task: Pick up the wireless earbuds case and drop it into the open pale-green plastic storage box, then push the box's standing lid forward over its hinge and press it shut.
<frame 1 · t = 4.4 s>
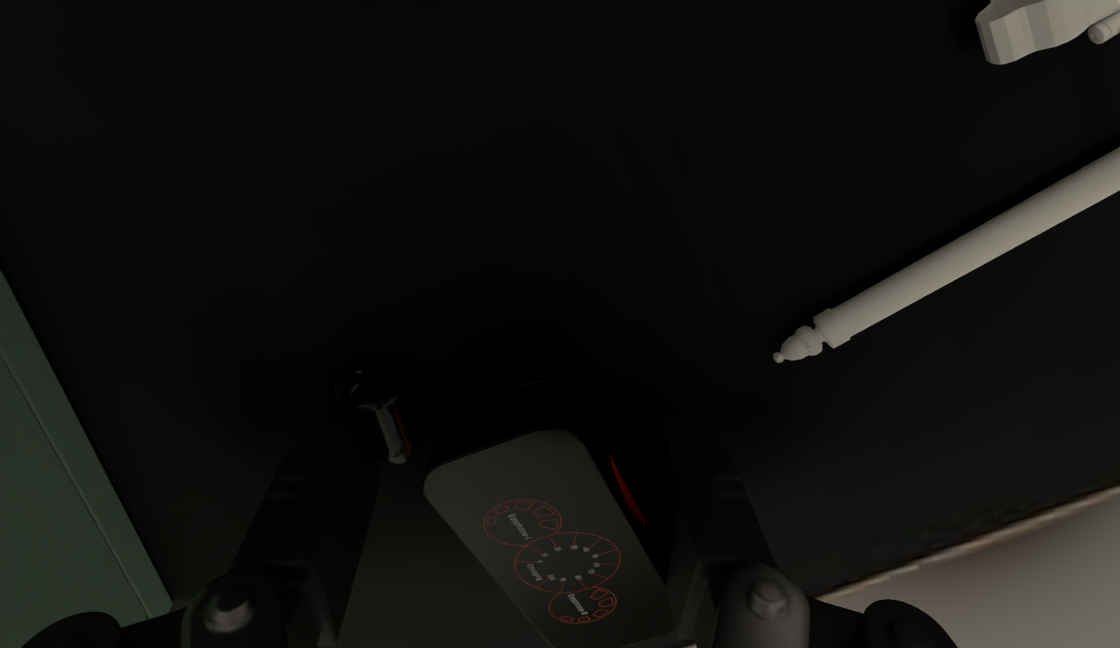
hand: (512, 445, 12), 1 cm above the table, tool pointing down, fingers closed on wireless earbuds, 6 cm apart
picture light: (1103, 53, 10), on the table
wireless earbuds: (514, 419, 13), on the table, touching gripper
when the fingers open (5 cm above the table, at t = 11.4 s): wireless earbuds drops 3 cm, resting on storage box.
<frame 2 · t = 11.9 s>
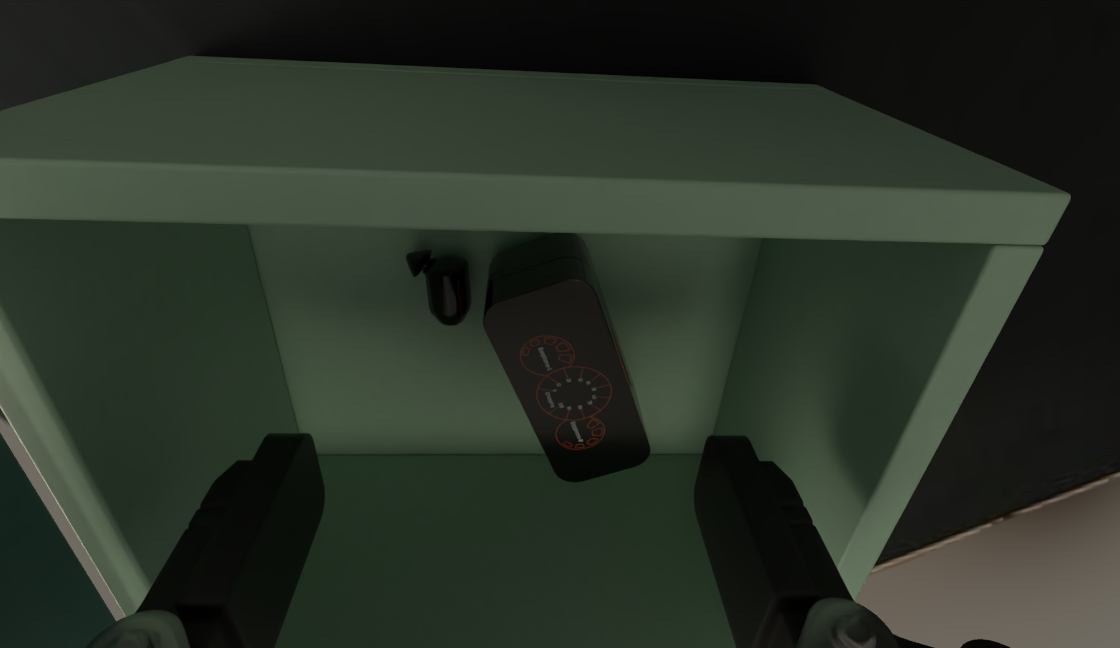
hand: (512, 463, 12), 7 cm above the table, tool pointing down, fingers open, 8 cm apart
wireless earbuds: (534, 309, 17), point 1 cm above the table, touching storage box
storage box: (512, 299, 18), on the table
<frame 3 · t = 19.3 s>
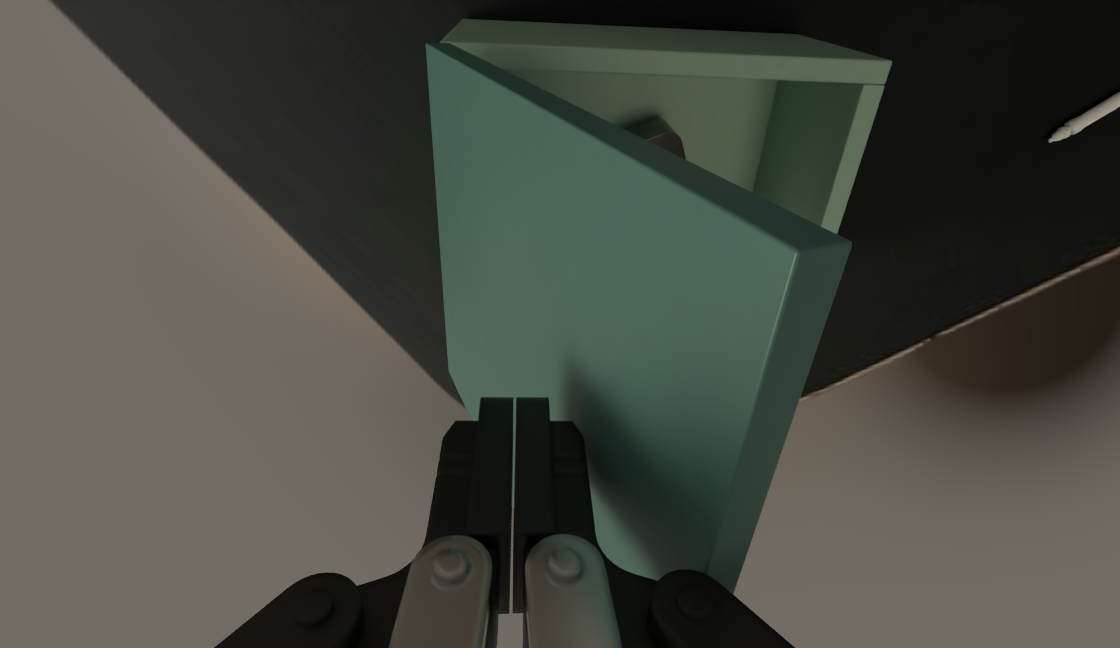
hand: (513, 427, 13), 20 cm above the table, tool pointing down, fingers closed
lid: (528, 345, 16), point 16 cm above the table, hinge at 68.7°
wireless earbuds: (633, 171, 30), point 1 cm above the table, touching storage box
storage box: (619, 167, 30), on the table
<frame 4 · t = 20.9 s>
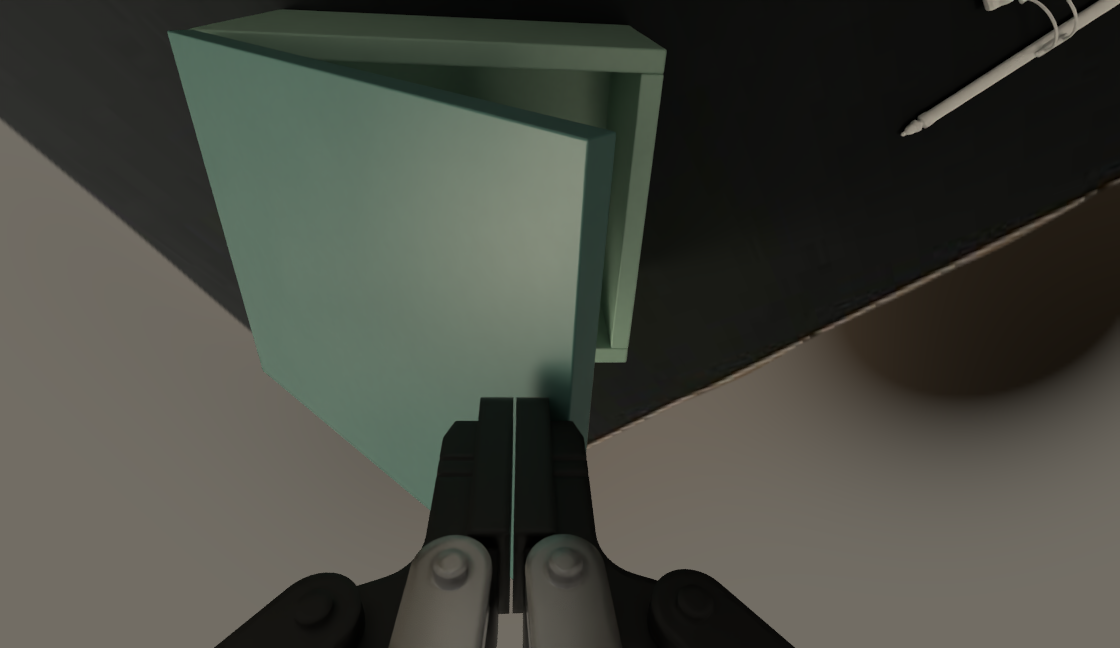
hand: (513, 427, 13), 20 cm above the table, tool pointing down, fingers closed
picture light: (1026, 8, 27), on the table
lid: (362, 303, 17), point 14 cm above the table, hinge at 43.0°
storage box: (464, 162, 30), on the table
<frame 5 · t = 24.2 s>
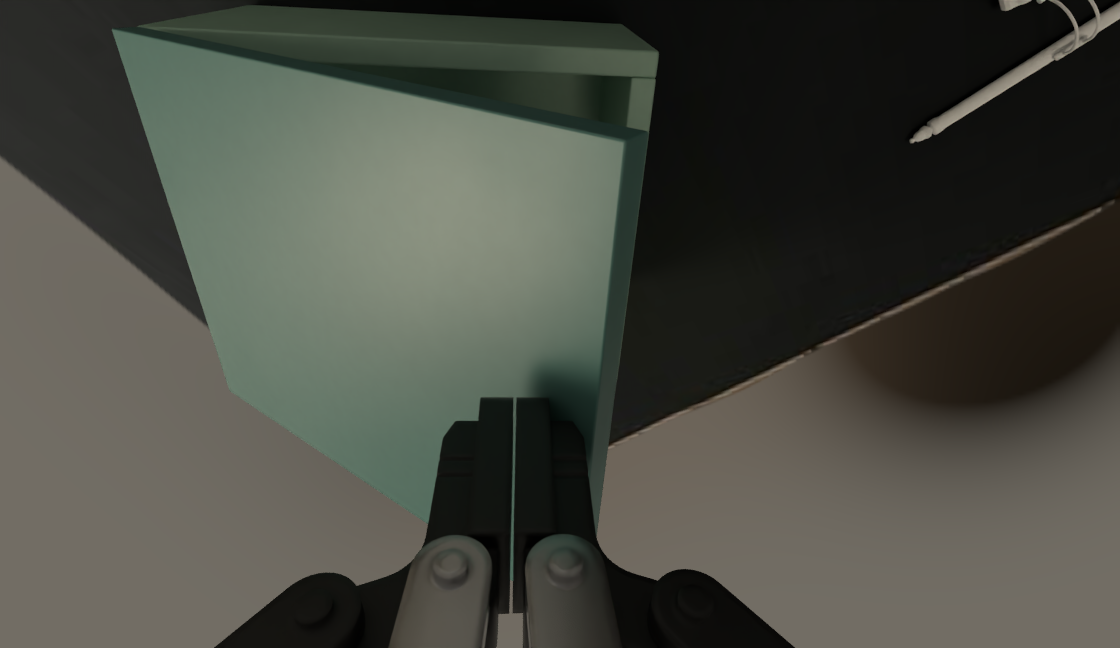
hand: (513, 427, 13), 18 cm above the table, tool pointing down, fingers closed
picture light: (1044, 8, 26), on the table
lid: (351, 316, 16), point 14 cm above the table, hinge at 36.6°, touching gripper
storage box: (448, 167, 28), on the table
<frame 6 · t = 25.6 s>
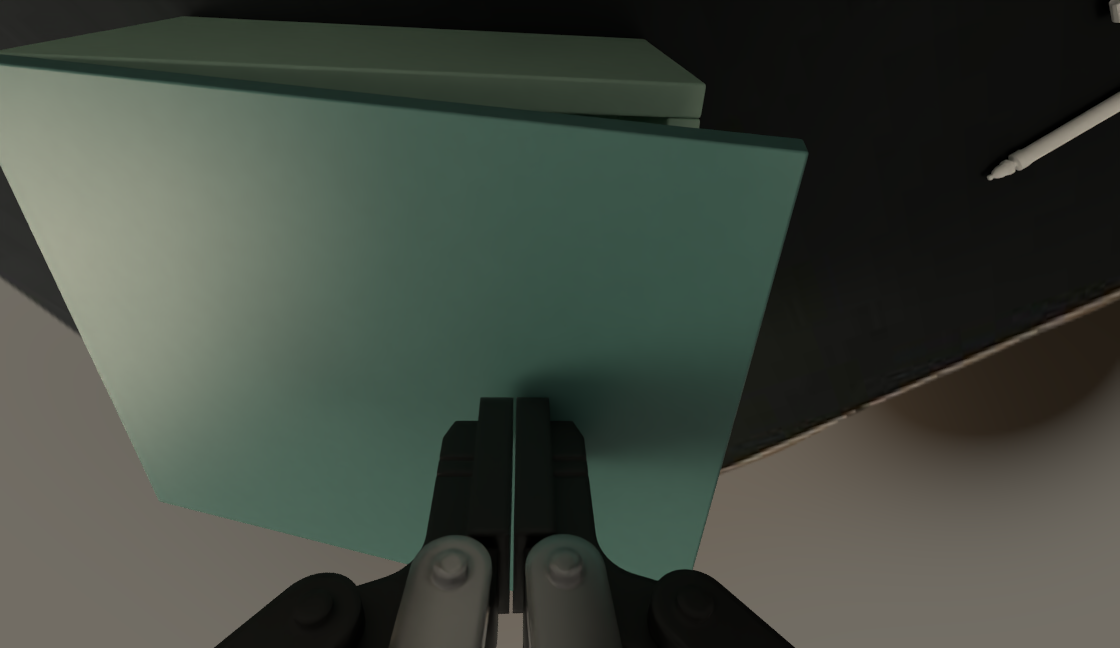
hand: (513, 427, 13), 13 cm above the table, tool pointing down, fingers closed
lid: (376, 379, 14), point 11 cm above the table, hinge at 16.1°, touching gripper
storage box: (433, 209, 23), on the table
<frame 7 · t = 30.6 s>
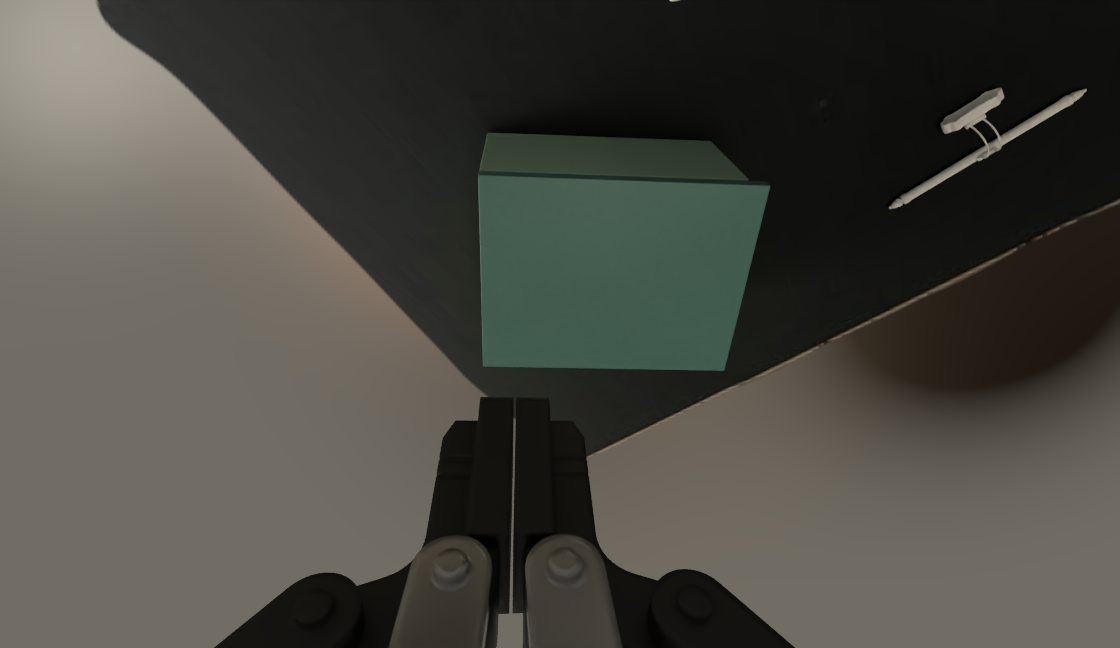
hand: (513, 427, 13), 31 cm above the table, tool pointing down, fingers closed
picture light: (970, 129, 41), on the table
lid: (614, 280, 36), point 9 cm above the table, hinge at 0.7°
storage box: (593, 225, 44), on the table
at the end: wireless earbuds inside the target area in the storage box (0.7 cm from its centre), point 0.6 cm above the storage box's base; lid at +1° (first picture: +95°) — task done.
